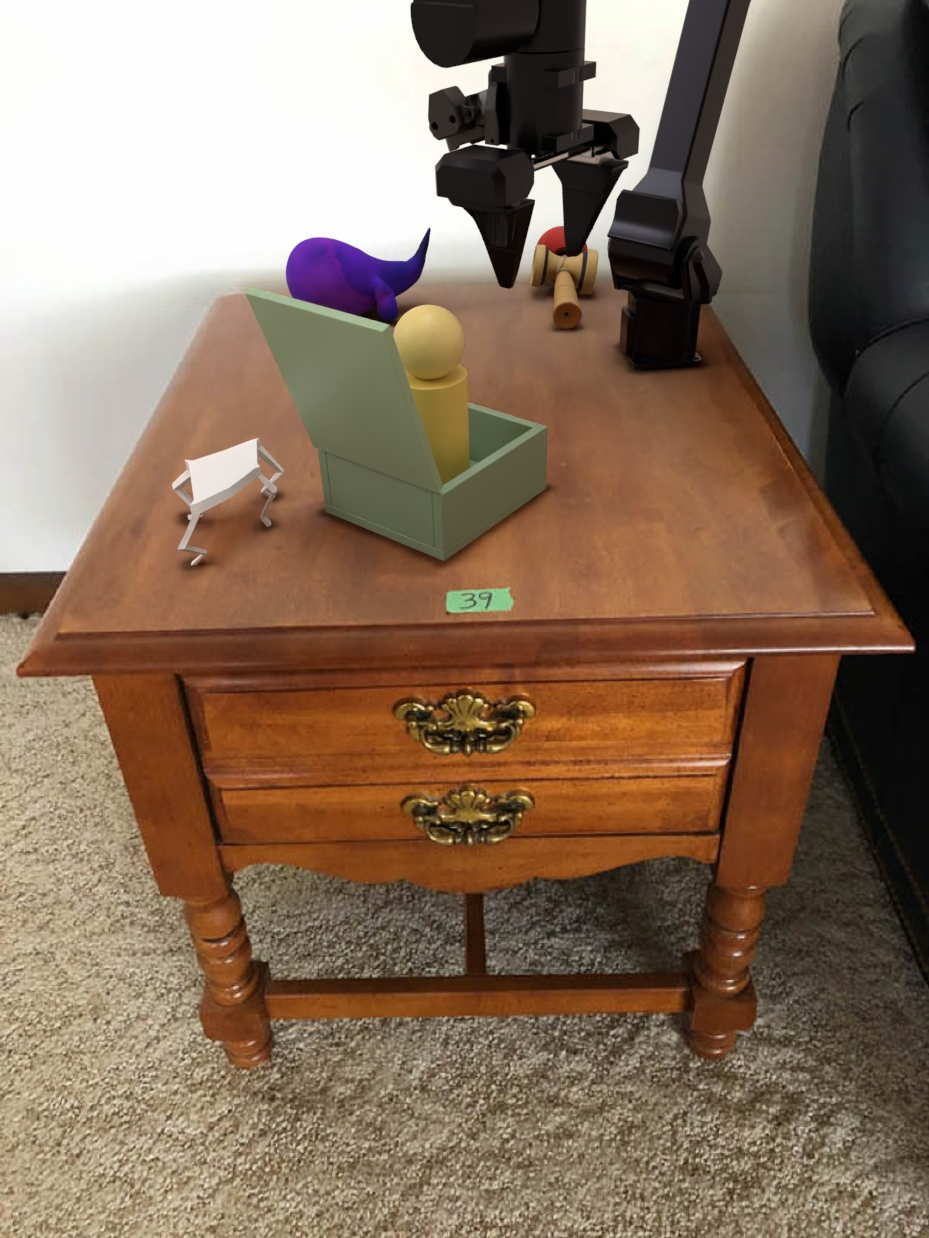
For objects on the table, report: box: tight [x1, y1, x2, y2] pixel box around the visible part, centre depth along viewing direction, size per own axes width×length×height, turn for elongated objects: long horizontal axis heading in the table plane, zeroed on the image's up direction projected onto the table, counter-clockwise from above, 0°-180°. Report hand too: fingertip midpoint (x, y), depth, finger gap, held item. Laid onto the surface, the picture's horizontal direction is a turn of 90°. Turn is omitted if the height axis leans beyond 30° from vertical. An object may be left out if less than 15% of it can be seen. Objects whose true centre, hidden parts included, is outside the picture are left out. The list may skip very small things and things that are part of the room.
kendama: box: [529, 225, 599, 330], centre depth 112 cm, size 8×6×18 cm
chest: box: [317, 401, 549, 562], centre depth 77 cm, size 13×12×5 cm
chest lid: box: [244, 286, 443, 493], centre depth 67 cm, size 13×12×1 cm
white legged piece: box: [171, 437, 285, 566], centre depth 75 cm, size 12×8×5 cm
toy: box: [285, 227, 432, 322], centre depth 109 cm, size 9×10×15 cm
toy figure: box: [393, 304, 470, 485], centre depth 74 cm, size 5×5×14 cm
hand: (540, 271), depth 81 cm, fingers open, 9 cm apart
